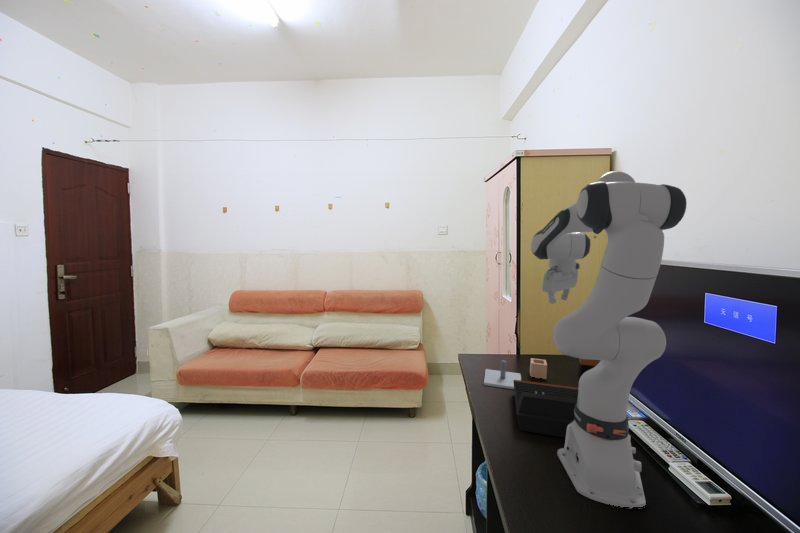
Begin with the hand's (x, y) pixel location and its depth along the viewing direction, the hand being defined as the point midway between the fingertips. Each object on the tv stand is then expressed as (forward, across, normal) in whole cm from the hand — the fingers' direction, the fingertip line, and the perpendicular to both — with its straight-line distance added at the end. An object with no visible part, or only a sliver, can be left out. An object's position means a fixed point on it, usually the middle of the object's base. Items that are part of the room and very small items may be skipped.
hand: (558, 301), depth 132 cm
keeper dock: (+34, -12, +14) cm, 38 cm away
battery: (+34, +20, -6) cm, 40 cm away
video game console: (+33, -21, -14) cm, 42 cm away
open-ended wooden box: (+34, +4, +8) cm, 35 cm away
